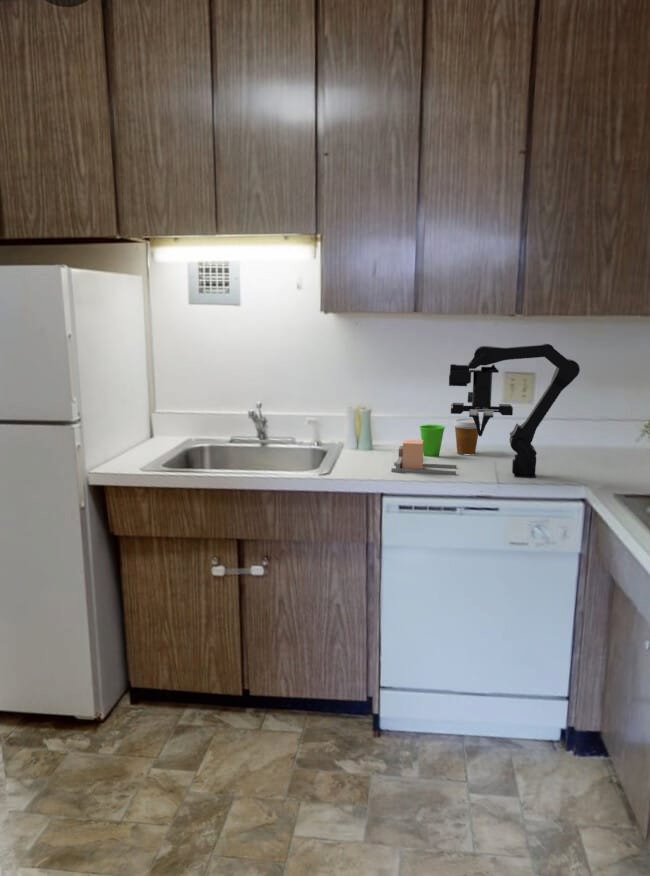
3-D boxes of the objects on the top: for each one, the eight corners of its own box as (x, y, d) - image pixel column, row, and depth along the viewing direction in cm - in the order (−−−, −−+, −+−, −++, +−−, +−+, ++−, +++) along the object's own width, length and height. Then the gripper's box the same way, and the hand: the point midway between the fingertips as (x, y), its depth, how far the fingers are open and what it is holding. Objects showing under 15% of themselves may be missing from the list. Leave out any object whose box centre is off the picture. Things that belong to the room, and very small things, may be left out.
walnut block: (414, 460, 231) (414, 446, 230) (413, 463, 226) (413, 449, 225) (399, 459, 232) (400, 445, 231) (398, 463, 227) (398, 448, 226)
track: (456, 470, 216) (456, 459, 215) (455, 478, 206) (456, 466, 206) (394, 467, 220) (394, 456, 219) (391, 475, 210) (391, 463, 210)
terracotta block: (422, 467, 216) (423, 440, 214) (421, 471, 210) (422, 443, 209) (404, 466, 217) (404, 439, 216) (402, 471, 212) (402, 443, 210)
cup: (448, 456, 237) (449, 425, 235) (438, 461, 229) (439, 429, 227) (424, 453, 241) (425, 423, 239) (414, 458, 234) (415, 427, 231)
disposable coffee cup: (447, 453, 241) (448, 421, 239) (461, 449, 248) (462, 417, 246) (471, 457, 235) (472, 423, 232) (484, 453, 242) (485, 420, 240)
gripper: (511, 384, 213) (509, 432, 216) (452, 383, 217) (450, 430, 220) (514, 388, 203) (511, 439, 206) (451, 387, 206) (449, 436, 209)
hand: (480, 436), depth 210 cm, fingers closed
